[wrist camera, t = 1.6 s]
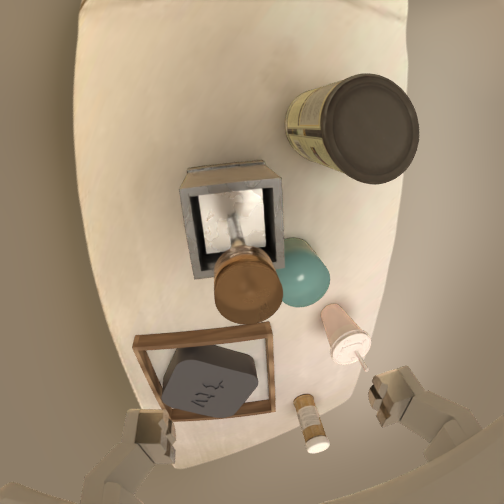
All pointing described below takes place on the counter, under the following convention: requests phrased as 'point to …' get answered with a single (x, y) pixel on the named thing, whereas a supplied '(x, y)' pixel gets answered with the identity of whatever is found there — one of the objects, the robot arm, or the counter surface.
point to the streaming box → (209, 380)
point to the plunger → (240, 256)
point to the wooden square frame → (204, 339)
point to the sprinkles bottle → (311, 424)
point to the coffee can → (356, 128)
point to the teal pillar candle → (302, 274)
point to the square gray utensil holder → (228, 181)
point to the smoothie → (344, 336)
